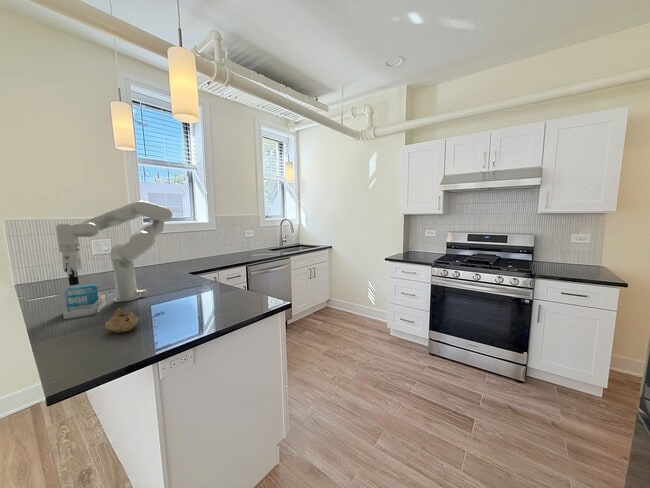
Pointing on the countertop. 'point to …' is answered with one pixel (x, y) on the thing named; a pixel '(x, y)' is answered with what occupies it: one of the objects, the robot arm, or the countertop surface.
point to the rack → (86, 309)
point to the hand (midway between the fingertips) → (74, 284)
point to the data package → (81, 295)
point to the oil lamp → (122, 321)
